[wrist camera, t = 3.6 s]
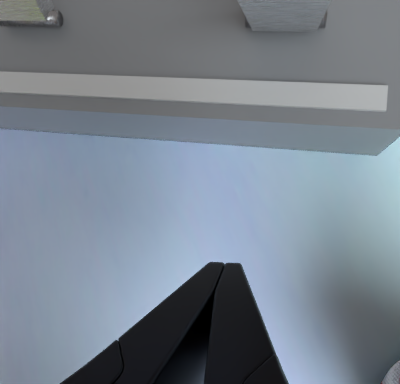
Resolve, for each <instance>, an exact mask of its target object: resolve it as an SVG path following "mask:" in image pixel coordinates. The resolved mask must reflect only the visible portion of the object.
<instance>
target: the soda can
mask: <svg viewBox="0 0 400 384" xmlns="http://www.w3.org/2000/svg"><path fill="white" fill-rule="evenodd" d="M381 384H400V360H399V361H398V362H396V363H395V364H394V365H393V366H392V367H391V368H390V370H389V371H388V372H387V373H386V375H385V377H384V379H383V381H382V382H381Z"/></svg>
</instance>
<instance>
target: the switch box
mask: <svg viewBox="0 0 400 384" xmlns="http://www.w3.org/2000/svg"><path fill="white" fill-rule="evenodd" d="M51 1H52V3H53V5H54V8H53V10H52V11H60V12H61V13H62V16H63V25H62V26H61V27H52V26H0V128H2V129H15V130H29V131H43V132H57V133H71V134H85V135H99V136H113V137H126V138H140V139H154V140H168V141H182V142H196V143H210V144H224V145H238V146H251V147H265V148H279V149H293V150H307V151H321V152H335V153H349V154H362V155H376V156H377V155H378V154H379V153H381V152H382V151H383V150H384V149H385V148H387V147H388V146H389V145H390V144H391V143H393V142H394V141H395V140H396V139H397V138H399V137H400V0H331V2H330V4H329V6H328V8H327V10H328V12H327V21H326V27H325V29H322V28H318V29H317V31H316V32H285V31H253V30H252V28H246V27H245V14H244V12H243V10H242V8H241V6H240V5H239V3H238V1H237V0H51Z"/></svg>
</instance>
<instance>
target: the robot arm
mask: <svg viewBox="0 0 400 384" xmlns="http://www.w3.org/2000/svg"><path fill="white" fill-rule="evenodd" d="M118 340H119V341H118ZM118 340H115V341H114V342H113V343H112V344H111V345H109V346H108V347H107V348H106V349H105V350H103V351H102V352H101V353H100V354H98V355H97V356H96V357H95V358H93V359H92V360H91V361H90V362H88V363H87V364H86V365H85V366H83V367H82V368H80V369H79V370H78V371H76V372H75V373H74V374H72V375H71V376H70V377H68V378H67V379H65V380H64V381H63V382H61V383H60V384H289V383H288V381H287V379H286V376H285V374H284V372H283V369H282V367H281V364H280V362H279V359H278V357H277V355H276V353H275V350H274V347H273V345H272V342H271V340H270V337H269V334H268V332H267V329H266V327H265V324H264V322H263V319H262V316H261V314H260V311H259V309H258V306H257V303H256V301H255V298H254V296H253V293H252V291H251V288H250V285H249V283H248V280H247V278H246V275H245V272H244V270H243V267H242V265H241V264H240V263H226V264H224V263H222V262H210V263H208V264H207V265H205V266H204V267H203V268H202V269H201V270H199V271H198V272H197V273H196V274H195V275H193V276H192V277H191V278H190V279H189V280H188V281H186V282H185V283H184V284H183V285H182V286H180V287H179V288H178V289H177V290H176V291H174V292H173V293H172V294H171V295H170V296H168V297H167V298H166V299H165V300H164V301H163V302H161V303H160V304H159V305H158V306H157V307H155V308H154V309H153V310H152V311H151V312H149V313H148V314H147V315H146V316H145V317H143V318H142V319H141V320H140V321H139V322H138V323H136V324H135V325H134V326H133V327H132V328H130V329H129V330H128V331H127V332H126V333H124V334H123V335H122V336H121V337H120V338H119V339H118Z"/></svg>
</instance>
